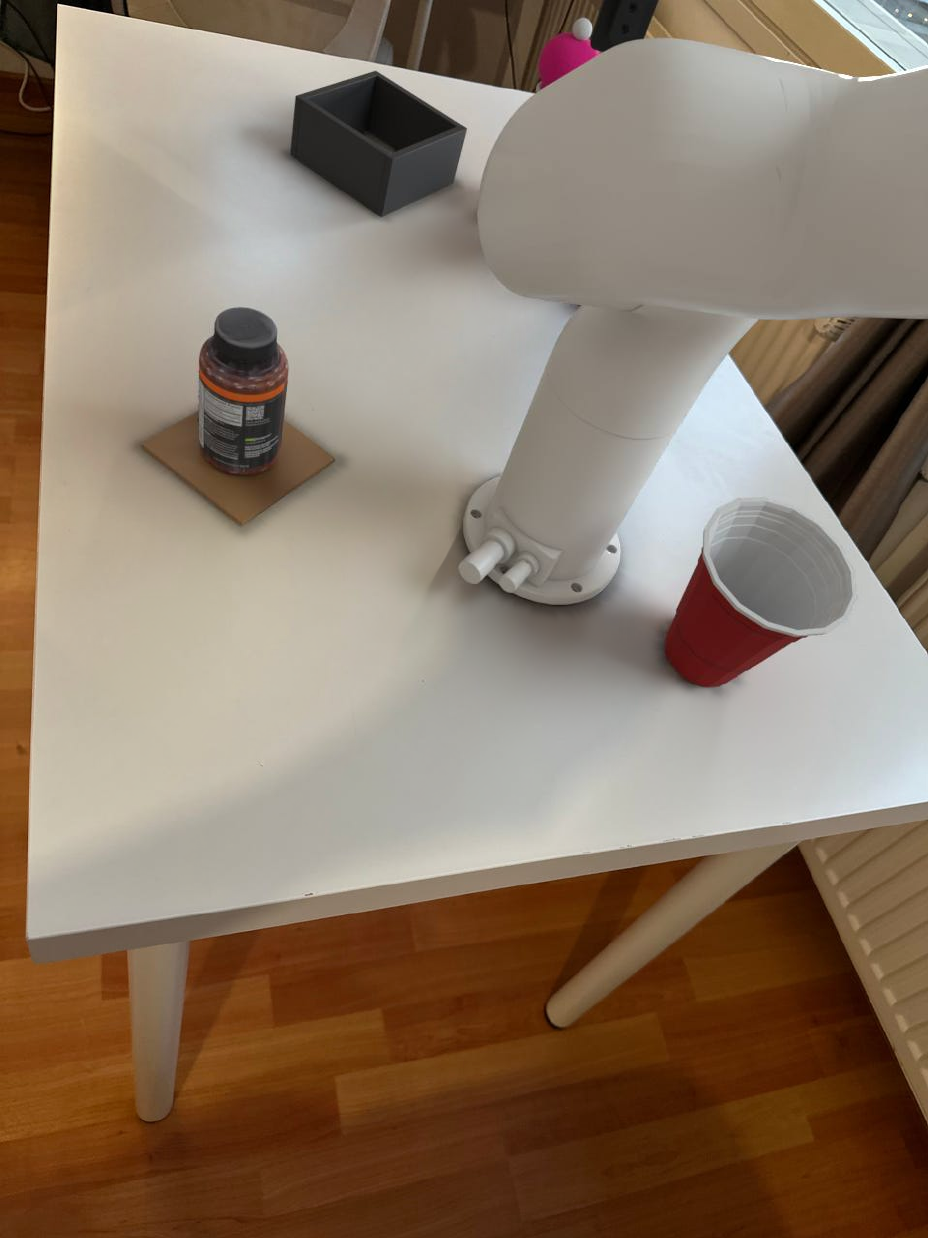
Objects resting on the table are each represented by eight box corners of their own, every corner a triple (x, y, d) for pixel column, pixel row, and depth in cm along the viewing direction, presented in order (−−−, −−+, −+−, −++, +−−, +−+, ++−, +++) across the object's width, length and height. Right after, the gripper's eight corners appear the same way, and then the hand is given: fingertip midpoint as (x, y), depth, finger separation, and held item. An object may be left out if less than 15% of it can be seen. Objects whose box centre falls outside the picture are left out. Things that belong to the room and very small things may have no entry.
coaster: (241, 526, 62) (242, 522, 62) (141, 447, 64) (141, 443, 64) (335, 461, 68) (335, 457, 68) (240, 390, 70) (240, 386, 69)
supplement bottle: (239, 410, 68) (246, 284, 59) (296, 454, 67) (313, 332, 58) (180, 445, 64) (179, 317, 55) (239, 492, 63) (248, 368, 54)
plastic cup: (616, 681, 63) (692, 580, 53) (647, 578, 69) (720, 472, 60) (754, 745, 62) (856, 656, 53) (773, 635, 69) (866, 539, 60)
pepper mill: (552, 248, 94) (626, 46, 78) (487, 231, 93) (549, 22, 77) (550, 212, 98) (619, 14, 82) (488, 195, 97) (546, -9, 81)
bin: (381, 216, 89) (392, 159, 84) (289, 154, 91) (295, 95, 87) (453, 182, 96) (467, 128, 92) (366, 126, 99) (375, 69, 94)
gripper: (833, -277, 41) (673, 96, 55) (760, -348, 51) (640, -17, 65) (688, -336, 40) (560, 63, 53) (641, -396, 50) (543, -47, 63)
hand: (604, 19), depth 59 cm, fingers open, 9 cm apart
